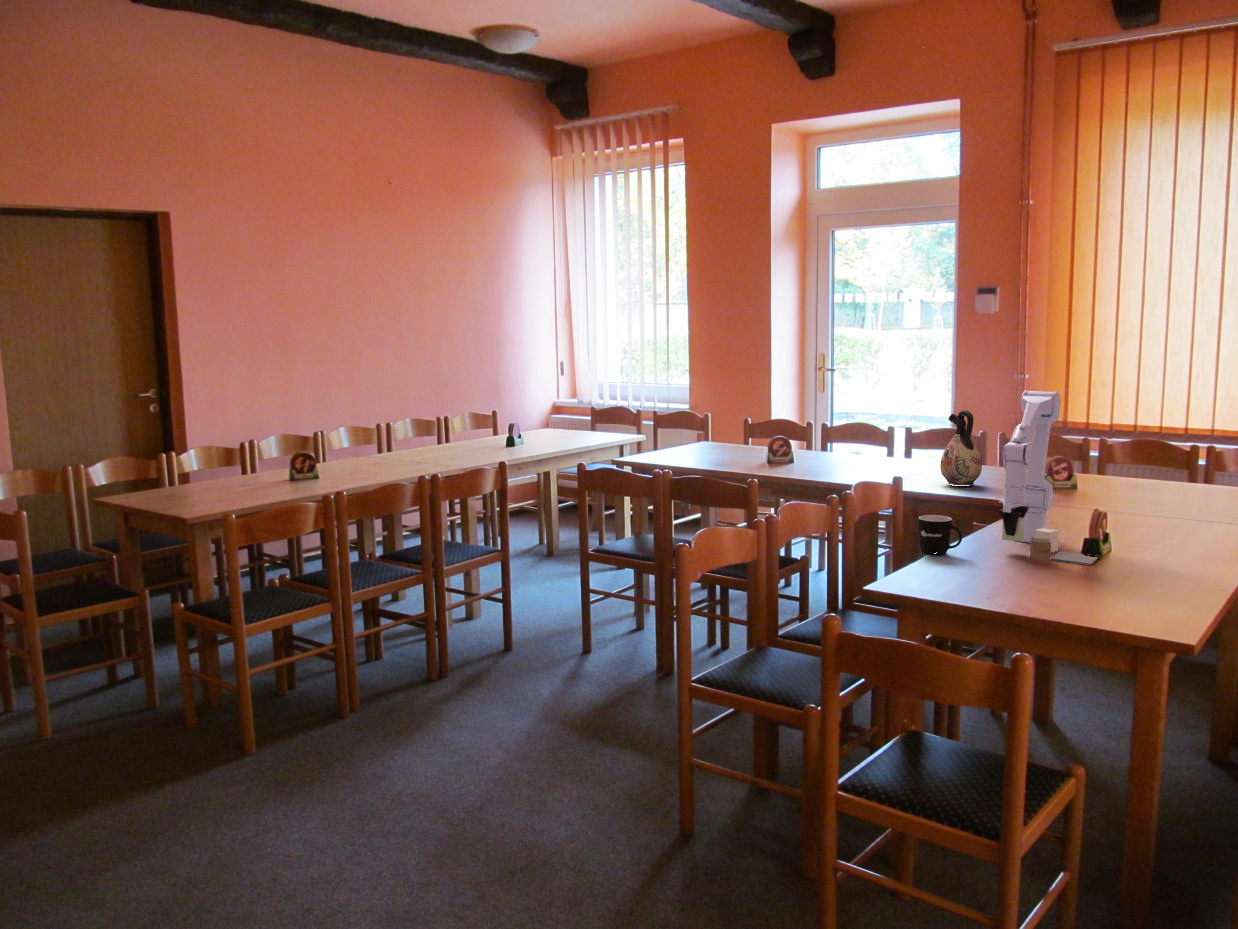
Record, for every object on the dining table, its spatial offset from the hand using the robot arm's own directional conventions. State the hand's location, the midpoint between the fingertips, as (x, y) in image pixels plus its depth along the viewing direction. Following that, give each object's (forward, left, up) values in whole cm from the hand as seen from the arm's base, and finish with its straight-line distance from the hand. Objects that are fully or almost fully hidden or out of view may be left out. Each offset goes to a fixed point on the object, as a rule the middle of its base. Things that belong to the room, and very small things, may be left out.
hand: (1013, 533), depth 275 cm
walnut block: (+6, +9, -6) cm, 12 cm away
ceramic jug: (-101, -48, -6) cm, 112 cm away
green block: (0, 0, -2) cm, 2 cm away
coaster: (-2, +16, -6) cm, 17 cm away
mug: (+13, -16, -6) cm, 21 cm away
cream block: (-8, +7, -6) cm, 12 cm away
